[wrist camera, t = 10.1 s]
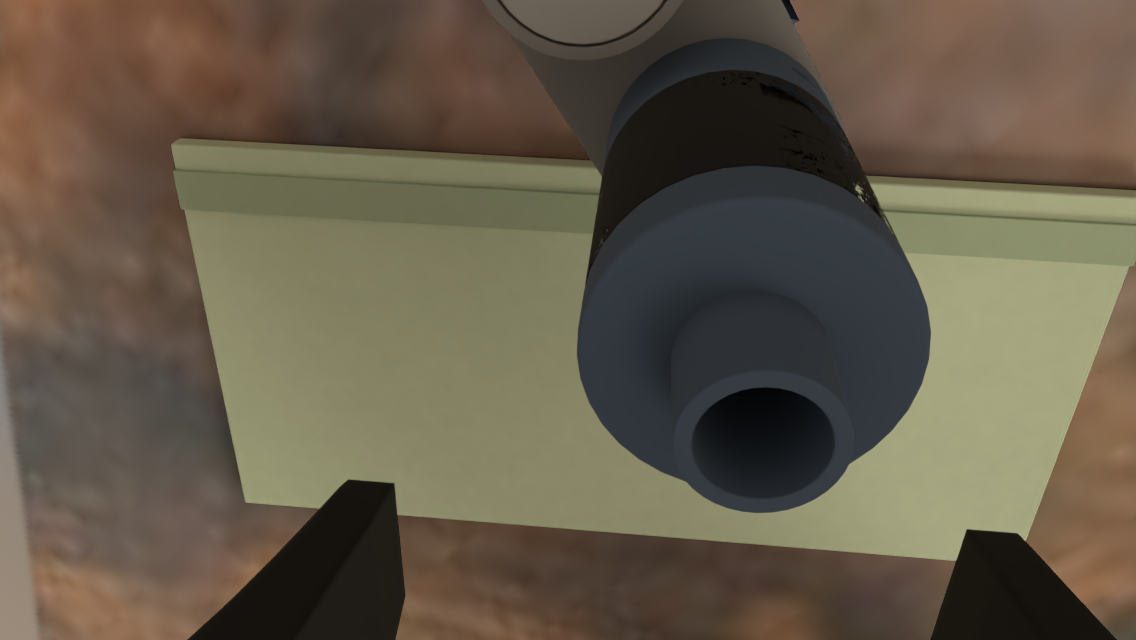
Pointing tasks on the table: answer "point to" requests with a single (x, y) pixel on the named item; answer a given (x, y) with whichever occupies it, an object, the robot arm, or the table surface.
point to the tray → (550, 331)
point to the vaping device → (727, 247)
